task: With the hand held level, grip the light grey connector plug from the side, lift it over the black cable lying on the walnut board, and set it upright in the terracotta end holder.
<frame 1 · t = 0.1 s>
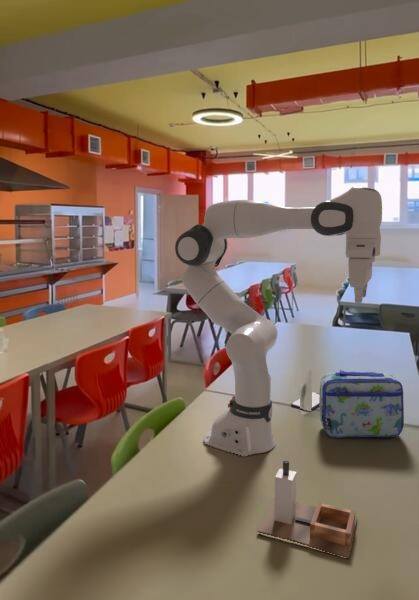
hand: (360, 299, 128), 48 cm above the table, tool pointing down, fingers open, 8 cm apart
route board: (308, 527, 108), on the table
phone case: (310, 404, 181), on the table
lunch box: (358, 434, 155), on the table
connector plug: (284, 517, 111), point 1 cm above the table, touching route board
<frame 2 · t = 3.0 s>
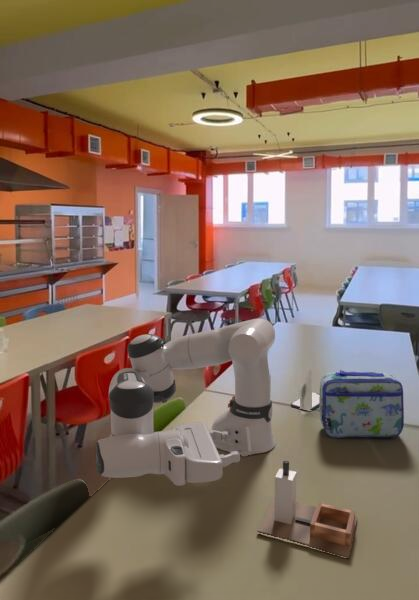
hand: (233, 445, 105), 20 cm above the table, tool horizontal, fingers open, 8 cm apart
nothing on the table moved.
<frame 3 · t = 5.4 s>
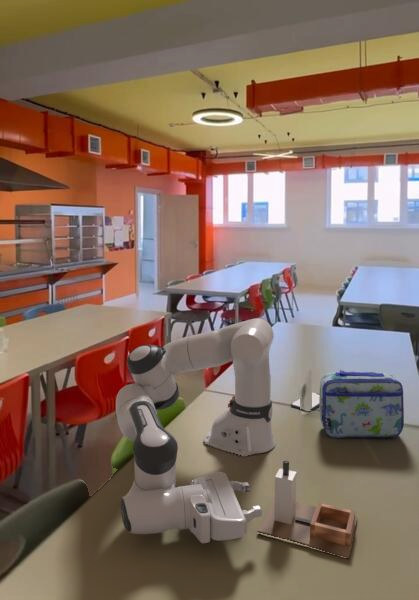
hand: (255, 498, 108), 7 cm above the table, tool horizontal, fingers open, 8 cm apart
nothing on the table moved.
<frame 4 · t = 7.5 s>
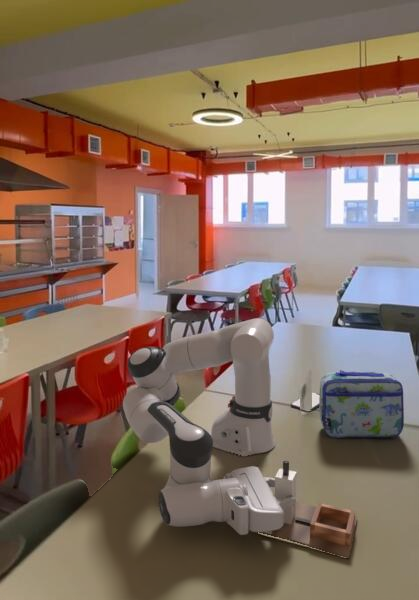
hand: (289, 491, 110), 8 cm above the table, tool horizontal, fingers closed on connector plug, 6 cm apart
connector plug: (284, 517, 111), point 1 cm above the table, touching gripper, route board
everything else where it was.
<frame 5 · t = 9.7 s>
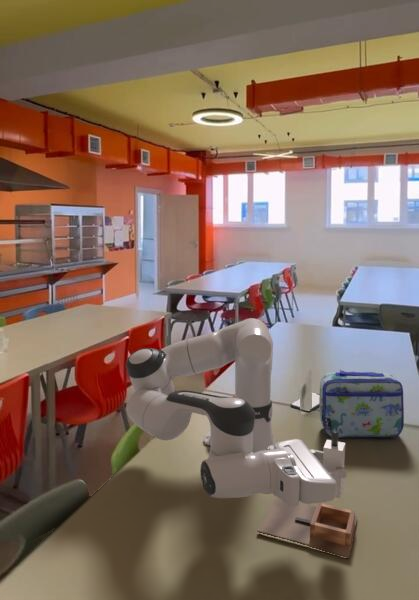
hand: (337, 463, 104), 17 cm above the table, tool horizontal, fingers closed on connector plug, 6 cm apart
connector plug: (332, 491, 104), point 10 cm above the table, touching gripper
everything else where it was.
when the fingers open (9 cm above the table, at t = 12.0 s): connector plug drops 1 cm, resting on route board.
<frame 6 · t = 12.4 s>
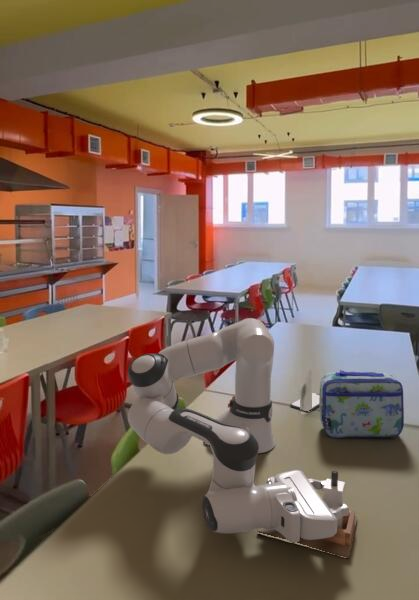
hand: (337, 496, 105), 9 cm above the table, tool horizontal, fingers open, 8 cm apart
connector plug: (332, 529, 106), point 1 cm above the table, touching route board
everything else where it was.
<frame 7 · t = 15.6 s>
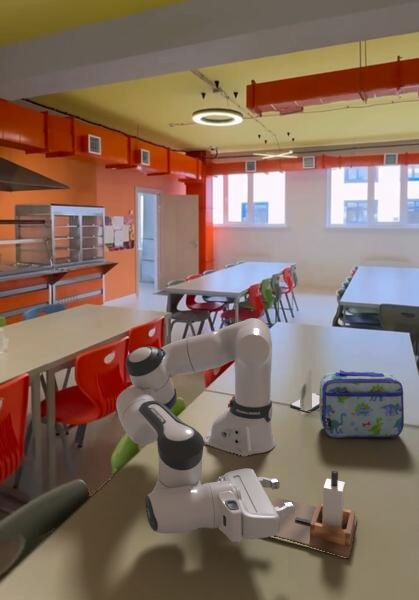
hand: (285, 494, 102), 11 cm above the table, tool horizontal, fingers open, 8 cm apart
nothing on the table moved.
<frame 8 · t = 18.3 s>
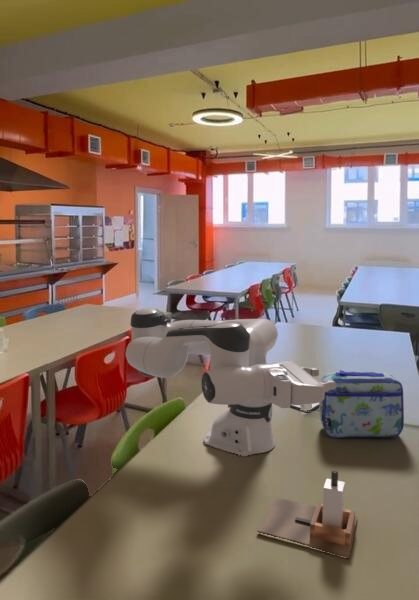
hand: (325, 377, 114), 32 cm above the table, tool horizontal, fingers open, 8 cm apart
at the end: connector plug 0.1 cm from the target spot on the route board, point 1.0 cm above the route board's base; connector plug tilted 0°; the gripper is holding nothing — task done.
